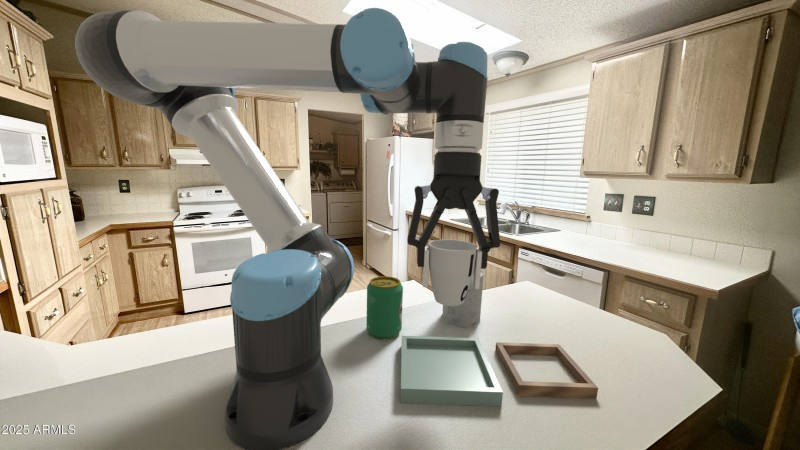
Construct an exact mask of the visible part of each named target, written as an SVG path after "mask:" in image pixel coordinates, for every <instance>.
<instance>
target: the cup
mask: <svg viewBox="0 0 800 450" xmlns="http://www.w3.org/2000/svg"><path fill="white" fill-rule="evenodd" d="M428 247H429V270H428V271H429V276H430V277H429V278H430V284H431V285H430V286H431V289H432V294H433V297H434V300H435V302H436V303H438V304H440V305H442V306H443V305H446V306H458V305H461V304H463V303H464V301H465V298H466V296H467V293H468V291H469V288H470V284H471V280H472V276H473V272H474V266H475V258H476V251H477V248H478V245H476V244H475V243H473V242H470V241H465V240H461V239H460V240H459V239H436V240H431V241H428Z"/></svg>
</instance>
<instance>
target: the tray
mask: <svg viewBox="0 0 800 450" xmlns="http://www.w3.org/2000/svg"><path fill="white" fill-rule="evenodd" d="M400 345H401V346H400V347H401V349H400V352H401V353H400V355H401V356H400V357H401V358H400V359H401V360H400V403H402V404H427V405H451V406H452V405H455V406H456V405H457V406H459V405H460V406H480V407H481V406H482V407H486V406H487V407H488V406H489V407H502V405H503V403H502V402H503V397H504V396H503V394H504V392H503V389H502V386H501V385H500V382H499V380H498V378H497V375H496V374H495V372H494V369H493V366H492V365H491V363H490V360H489V358H488V355H487V353H486V352H485V349H484V346H483V344H482V342H481V340H480V338H479V337H454V336H453V337H452V336H451V337H449V336H428V335H427V336H424V335H401V343H400Z"/></svg>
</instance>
